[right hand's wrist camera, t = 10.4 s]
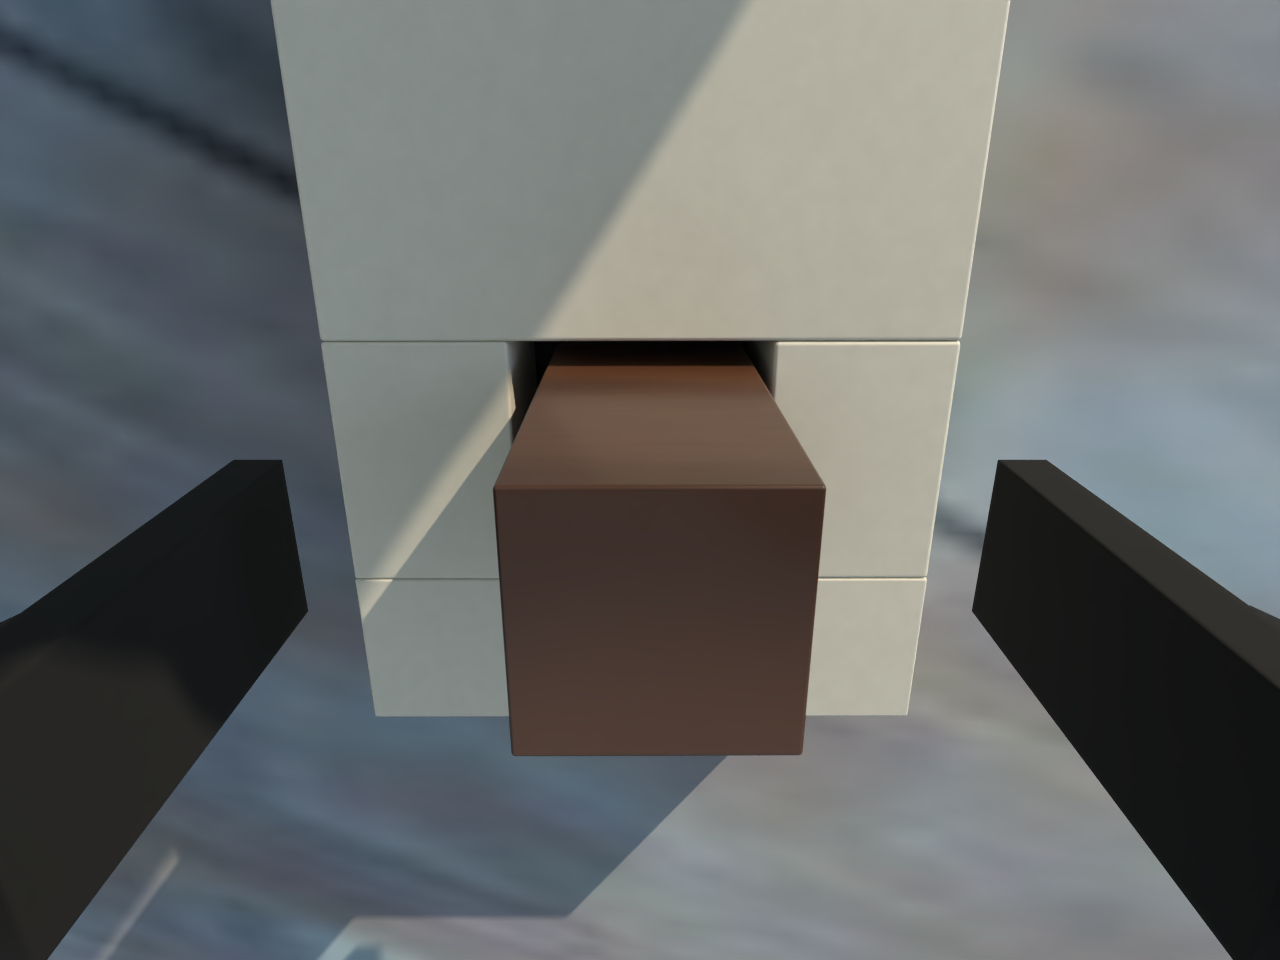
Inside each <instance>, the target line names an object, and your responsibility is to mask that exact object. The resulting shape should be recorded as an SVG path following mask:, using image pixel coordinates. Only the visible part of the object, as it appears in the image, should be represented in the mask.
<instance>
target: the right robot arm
mask: <svg viewBox="0 0 1280 960" xmlns="http://www.w3.org/2000/svg"><path fill="white" fill-rule="evenodd" d="M307 612H308V608H307V602H306V596H305V591H304V585H303V579H302V573H301V567H300V562H299V556H298V550H297V544H296V538H295V533H294V527H293V521H292V515H291V510H290V504H289V498H288V492H287V486H286V481H285V475H284V469H283V463H282V460H233V461H232V462H230V463H229V464H227V465H226V466H225V467H223V468H222V469H220V470H219V471H218V472H216V473H215V474H213V475H212V476H211V477H209V478H208V479H207V480H205V481H204V482H202V483H201V484H200V485H198V486H197V487H195V488H194V489H193V490H191V491H190V492H188V493H187V494H186V495H184V496H183V497H182V498H180V499H179V500H177V501H176V502H175V503H173V504H172V505H170V506H169V507H168V508H166V509H165V510H163V511H162V512H161V513H159V514H158V515H156V516H155V517H154V518H152V519H151V520H150V521H148V522H147V523H145V524H144V525H143V526H141V527H140V528H138V529H137V530H136V531H134V532H133V533H131V534H130V535H129V536H127V537H126V538H125V539H123V540H122V541H120V542H119V543H118V544H116V545H115V546H113V547H112V548H111V549H109V550H108V551H106V552H105V553H104V554H102V555H101V556H99V557H98V558H97V559H95V560H94V561H93V562H91V563H90V564H88V565H87V566H86V567H84V568H83V569H81V570H80V571H79V572H77V573H76V574H74V575H73V576H72V577H70V578H69V579H67V580H66V581H65V582H63V583H62V584H61V585H59V586H58V587H56V588H55V589H54V590H52V591H51V592H49V593H48V594H47V595H45V596H44V597H42V598H41V599H40V600H38V601H37V602H36V603H34V604H33V605H31V606H30V607H29V608H27V609H26V610H24V611H23V612H22V613H20V614H18V615H16V616H14V617H11V618H9V619H7V620H5V621H3V622H1V623H0V960H47V959H48V958H49V956H50V955H51V954H52V952H53V951H54V950H55V948H56V947H57V946H58V944H59V943H60V942H61V940H62V939H63V938H64V936H65V935H66V934H67V932H68V931H69V930H70V928H71V927H72V926H73V924H74V923H75V922H76V920H77V919H78V918H79V916H80V915H81V914H82V912H83V911H84V910H85V908H86V907H87V906H88V904H89V903H90V902H91V900H92V899H93V898H94V896H95V895H96V894H97V892H98V891H99V890H100V888H101V887H102V886H103V884H104V883H105V882H106V880H107V879H108V878H109V876H110V875H111V874H112V872H113V871H114V870H115V868H116V867H117V866H118V864H119V863H120V862H121V860H122V859H123V858H124V856H125V855H126V854H127V852H128V851H129V849H130V848H131V847H132V845H133V844H134V843H135V841H136V840H137V839H138V837H139V836H140V835H141V833H142V832H143V831H144V829H145V828H146V827H147V825H148V824H149V823H150V821H151V820H152V819H153V817H154V816H155V815H156V813H157V812H158V811H159V809H160V808H161V807H162V805H163V804H164V803H165V801H166V800H167V799H168V797H169V796H170V795H171V793H172V792H173V791H174V789H175V788H176V787H177V785H178V784H179V783H180V781H181V780H182V779H183V777H184V776H185V775H186V773H187V772H188V771H189V769H190V768H191V767H192V765H193V764H194V763H195V761H196V760H197V759H198V757H199V756H200V755H201V753H202V752H203V751H204V749H205V748H206V747H207V745H208V744H209V743H210V741H211V740H212V739H213V737H214V736H215V735H216V733H217V732H218V731H219V729H220V728H221V727H222V725H223V724H224V723H225V721H226V720H227V719H228V717H229V716H230V715H231V713H232V712H233V711H234V709H235V708H236V707H237V705H238V704H239V703H240V701H241V700H242V699H243V697H244V696H245V695H246V693H247V692H248V691H249V689H250V688H251V687H252V685H253V684H254V683H255V681H256V680H257V679H258V677H259V676H260V675H261V673H262V672H263V671H264V669H265V668H266V667H267V665H268V664H269V663H270V661H271V660H272V659H273V657H274V656H275V655H276V653H277V652H278V651H279V649H280V648H281V647H282V645H283V644H284V643H285V641H286V640H287V638H288V637H289V636H290V634H291V633H292V632H293V630H294V629H295V628H296V626H297V625H298V624H299V622H300V621H301V620H302V618H303V617H304V616H305V614H306V613H307ZM972 612H973V613H974V614H975V616H976V617H977V618H978V620H979V621H980V622H981V624H982V625H983V626H984V628H985V629H986V630H987V632H988V633H989V634H990V636H991V637H992V638H993V640H994V641H995V642H996V644H997V645H998V646H999V648H1000V649H1001V651H1002V652H1003V653H1004V655H1005V656H1006V657H1007V659H1008V660H1009V661H1010V663H1011V664H1012V665H1013V667H1014V668H1015V669H1016V671H1017V672H1018V673H1019V675H1020V676H1021V677H1022V679H1023V680H1024V681H1025V683H1026V684H1027V685H1028V687H1029V688H1030V689H1031V691H1032V692H1033V693H1034V695H1035V696H1036V697H1037V699H1038V700H1039V701H1040V703H1041V704H1042V705H1043V707H1044V708H1045V709H1046V711H1047V712H1048V713H1049V715H1050V716H1051V717H1052V719H1053V720H1054V721H1055V723H1056V724H1057V725H1058V727H1059V728H1060V729H1061V731H1062V732H1063V733H1064V735H1065V736H1066V737H1067V739H1068V740H1069V741H1070V743H1071V744H1072V745H1073V747H1074V748H1075V749H1076V751H1077V752H1078V753H1079V755H1080V756H1081V757H1082V759H1083V760H1084V761H1085V763H1086V764H1087V765H1088V767H1089V768H1090V769H1091V771H1092V772H1093V773H1094V775H1095V776H1096V777H1097V779H1098V780H1099V781H1100V783H1101V784H1102V785H1103V787H1104V788H1105V789H1106V791H1107V792H1108V793H1109V795H1110V796H1111V797H1112V799H1113V800H1114V801H1115V803H1116V804H1117V805H1118V807H1119V808H1120V809H1121V811H1122V812H1123V813H1124V815H1125V816H1126V817H1127V819H1128V820H1129V821H1130V823H1131V824H1132V825H1133V827H1134V828H1135V829H1136V831H1137V832H1138V833H1139V835H1140V836H1141V837H1142V839H1143V840H1144V841H1145V843H1146V844H1147V845H1148V847H1149V848H1150V849H1151V851H1152V852H1153V853H1154V855H1155V856H1156V857H1157V859H1158V860H1159V861H1160V863H1161V864H1162V866H1163V867H1164V868H1165V870H1166V871H1167V872H1168V874H1169V875H1170V876H1171V878H1172V879H1173V880H1174V882H1175V883H1176V884H1177V886H1178V887H1179V888H1180V890H1181V891H1182V892H1183V894H1184V895H1185V896H1186V898H1187V899H1188V900H1189V902H1190V903H1191V904H1192V906H1193V907H1194V908H1195V910H1196V911H1197V912H1198V914H1199V915H1200V916H1201V918H1202V919H1203V920H1204V922H1205V923H1206V924H1207V926H1208V927H1209V928H1210V930H1211V931H1212V932H1213V934H1214V935H1215V936H1216V938H1217V939H1218V940H1219V942H1220V943H1221V944H1222V946H1223V947H1224V948H1225V950H1226V951H1227V952H1228V954H1229V955H1230V956H1231V958H1232V959H1233V960H1280V619H1278V618H1276V617H1274V616H1272V615H1270V614H1267V613H1265V612H1263V611H1261V610H1259V609H1256V608H1254V607H1252V606H1249V605H1247V604H1246V603H1245V602H1243V601H1242V600H1240V599H1239V598H1238V597H1236V596H1235V595H1233V594H1232V593H1231V592H1229V591H1228V590H1226V589H1225V588H1224V587H1222V586H1221V585H1219V584H1218V583H1217V582H1215V581H1214V580H1213V579H1211V578H1210V577H1208V576H1207V575H1206V574H1204V573H1203V572H1201V571H1200V570H1199V569H1197V568H1196V567H1194V566H1193V565H1192V564H1190V563H1189V562H1187V561H1186V560H1185V559H1183V558H1182V557H1181V556H1179V555H1178V554H1176V553H1175V552H1174V551H1172V550H1171V549H1169V548H1168V547H1167V546H1165V545H1164V544H1162V543H1161V542H1160V541H1158V540H1157V539H1156V538H1154V537H1153V536H1151V535H1150V534H1149V533H1147V532H1146V531H1144V530H1143V529H1142V528H1140V527H1139V526H1137V525H1136V524H1135V523H1133V522H1132V521H1130V520H1129V519H1128V518H1126V517H1125V516H1124V515H1122V514H1121V513H1119V512H1118V511H1117V510H1115V509H1114V508H1112V507H1111V506H1110V505H1108V504H1107V503H1105V502H1104V501H1103V500H1101V499H1100V498H1099V497H1097V496H1096V495H1094V494H1093V493H1092V492H1090V491H1089V490H1087V489H1086V488H1085V487H1083V486H1082V485H1080V484H1079V483H1078V482H1076V481H1075V480H1073V479H1072V478H1071V477H1069V476H1068V475H1067V474H1065V473H1064V472H1062V471H1061V470H1060V469H1058V468H1057V467H1055V466H1054V465H1053V464H1051V463H1050V462H1048V461H1047V460H998V463H997V469H996V475H995V481H994V486H993V492H992V498H991V504H990V510H989V515H988V521H987V527H986V533H985V539H984V544H983V550H982V556H981V562H980V567H979V573H978V579H977V585H976V591H975V596H974V602H973V608H972Z"/></svg>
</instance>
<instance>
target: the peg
mask: <svg viewBox="0 0 1280 960" xmlns="http://www.w3.org/2000/svg"><path fill="white" fill-rule="evenodd" d="M825 498H826V486H825V484H824V482H823V481H822V479H821V477H820V476H819V474H818V472H817V471H816V469H815V467H814V466H813V464H812V462H811V461H810V459H809V457H808V456H807V454H806V452H805V451H804V449H803V447H802V446H801V444H800V442H799V441H798V439H797V437H796V436H795V434H794V432H793V431H792V429H791V427H790V426H789V424H788V422H787V420H786V419H785V417H784V415H783V414H782V412H781V410H780V409H779V407H778V405H777V404H776V402H775V400H774V399H773V397H772V395H771V394H770V392H769V390H768V389H767V387H766V385H765V384H764V382H763V380H762V379H761V377H760V375H759V374H758V372H757V370H756V369H755V367H754V365H753V364H752V362H751V360H750V359H749V357H748V355H747V354H746V352H745V350H744V348H743V347H742V345H741V343H740V342H739V341H559V342H558V344H557V346H556V348H555V350H554V353H553V355H552V357H551V359H550V362H549V364H548V366H547V368H546V371H545V373H544V375H543V377H542V379H541V382H540V384H539V386H538V388H537V391H536V393H535V395H534V397H533V400H532V402H531V404H530V406H529V408H528V411H527V413H526V415H525V417H524V420H523V422H522V424H521V426H520V429H519V431H518V433H517V435H516V438H515V440H514V442H513V444H512V446H511V449H510V451H509V453H508V455H507V458H506V460H505V462H504V464H503V467H502V469H501V471H500V473H499V475H498V478H497V480H496V482H495V484H494V487H493V501H494V515H495V529H496V543H497V557H498V571H499V585H500V598H501V612H502V626H503V640H504V654H505V668H506V682H507V696H508V710H509V723H510V737H511V751H512V754H513V755H514V756H685V755H801V754H802V751H803V740H804V729H805V718H806V707H807V696H808V685H809V674H810V663H811V652H812V641H813V630H814V619H815V608H816V597H817V586H818V575H819V564H820V553H821V542H822V531H823V520H824V509H825Z"/></svg>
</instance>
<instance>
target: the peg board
mask: <svg viewBox="0 0 1280 960" xmlns="http://www.w3.org/2000/svg"><path fill="white" fill-rule="evenodd" d="M1009 6H1010V0H271V7H272V14H273V21H274V28H275V34H276V41H277V48H278V55H279V61H280V68H281V75H282V82H283V89H284V95H285V102H286V109H287V116H288V123H289V129H290V136H291V143H292V150H293V156H294V163H295V170H296V177H297V184H298V190H299V197H300V204H301V211H302V217H303V224H304V231H305V238H306V245H307V251H308V258H309V265H310V272H311V279H312V285H313V292H314V299H315V306H316V312H317V319H318V326H319V333H320V338H321V340H323V341H324V342H322V344H321V348H322V355H323V362H324V368H325V375H326V382H327V389H328V395H329V402H330V409H331V416H332V423H333V429H334V436H335V443H336V450H337V456H338V463H339V470H340V477H341V484H342V490H343V497H344V504H345V511H346V517H347V524H348V531H349V538H350V545H351V551H352V558H353V565H354V572H355V577H356V588H357V595H358V601H359V608H360V615H361V622H362V628H363V635H364V642H365V649H366V656H367V662H368V669H369V676H370V683H371V689H372V696H373V703H374V710H375V715H376V716H377V717H408V716H509V710H508V696H507V682H506V668H505V654H504V640H503V626H502V612H501V598H500V585H499V571H498V557H497V543H496V529H495V515H494V501H493V487H494V484H495V482H496V480H497V478H498V475H499V473H500V471H501V469H502V467H503V464H504V462H505V460H506V458H507V455H508V453H509V451H510V449H511V446H512V444H513V442H514V440H515V438H516V435H517V433H518V431H519V429H520V426H521V424H522V422H523V420H524V417H525V415H526V413H527V411H528V408H529V406H530V404H531V402H532V400H533V397H534V395H535V393H536V391H537V379H536V359H535V341H747V347H746V354H747V355H748V357H749V359H750V360H751V362H752V364H753V365H754V367H755V369H756V370H757V372H758V374H759V375H760V377H761V379H762V380H763V382H764V384H765V385H766V387H767V389H768V390H769V392H770V394H771V395H772V397H773V399H774V400H775V402H776V404H777V405H778V407H779V409H780V410H781V412H782V414H783V415H784V417H785V419H786V420H787V422H788V424H789V426H790V427H791V429H792V431H793V432H794V434H795V436H796V437H797V439H798V441H799V442H800V444H801V446H802V447H803V449H804V451H805V452H806V454H807V456H808V457H809V459H810V461H811V462H812V464H813V466H814V467H815V469H816V471H817V472H818V474H819V476H820V477H821V479H822V481H823V482H824V484H825V486H826V498H825V509H824V520H823V531H822V542H821V553H820V564H819V575H818V586H817V597H816V608H815V619H814V630H813V641H812V652H811V663H810V674H809V685H808V696H807V707H806V716H906V715H907V712H908V705H909V699H910V692H911V685H912V678H913V671H914V664H915V657H916V650H917V644H918V637H919V630H920V623H921V616H922V609H923V602H924V595H925V589H926V582H927V579H926V575H927V570H928V563H929V557H930V550H931V543H932V536H933V529H934V522H935V515H936V508H937V501H938V495H939V488H940V481H941V474H942V467H943V460H944V453H945V446H946V439H947V433H948V426H949V419H950V412H951V405H952V398H953V391H954V384H955V377H956V371H957V364H958V357H959V350H960V342H959V341H957V340H959V339H961V336H962V330H963V323H964V316H965V309H966V302H967V295H968V288H969V282H970V275H971V268H972V261H973V254H974V247H975V240H976V233H977V226H978V220H979V213H980V206H981V199H982V192H983V185H984V178H985V171H986V164H987V158H988V151H989V144H990V137H991V130H992V123H993V116H994V109H995V103H996V96H997V89H998V82H999V75H1000V68H1001V61H1002V54H1003V47H1004V41H1005V34H1006V27H1007V20H1008V13H1009Z"/></svg>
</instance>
